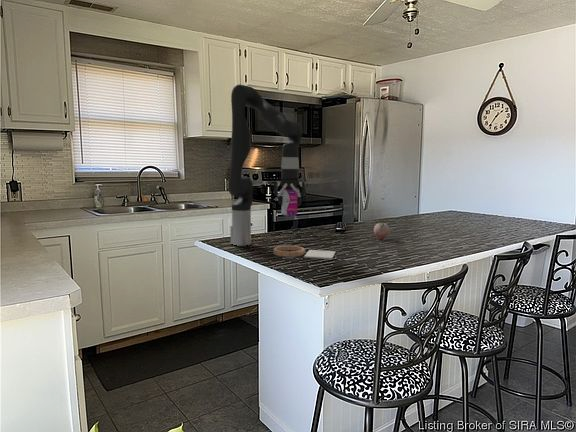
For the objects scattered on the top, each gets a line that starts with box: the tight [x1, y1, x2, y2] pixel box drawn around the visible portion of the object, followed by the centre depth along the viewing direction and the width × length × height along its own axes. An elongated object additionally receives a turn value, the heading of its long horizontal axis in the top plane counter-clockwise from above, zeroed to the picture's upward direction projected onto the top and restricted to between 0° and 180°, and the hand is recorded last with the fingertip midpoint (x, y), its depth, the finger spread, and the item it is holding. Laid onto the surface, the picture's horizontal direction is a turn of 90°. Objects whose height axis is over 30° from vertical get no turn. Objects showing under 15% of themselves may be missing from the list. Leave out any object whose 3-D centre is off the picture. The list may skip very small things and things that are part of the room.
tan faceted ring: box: [273, 245, 306, 258], centre depth 184 cm, size 14×14×2 cm
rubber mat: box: [303, 249, 337, 260], centre depth 181 cm, size 12×13×1 cm
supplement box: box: [280, 190, 298, 217], centre depth 181 cm, size 6×6×12 cm
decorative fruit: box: [373, 220, 391, 240], centre depth 217 cm, size 9×8×10 cm
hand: (289, 205), depth 181 cm, fingers closed on supplement box, 7 cm apart
